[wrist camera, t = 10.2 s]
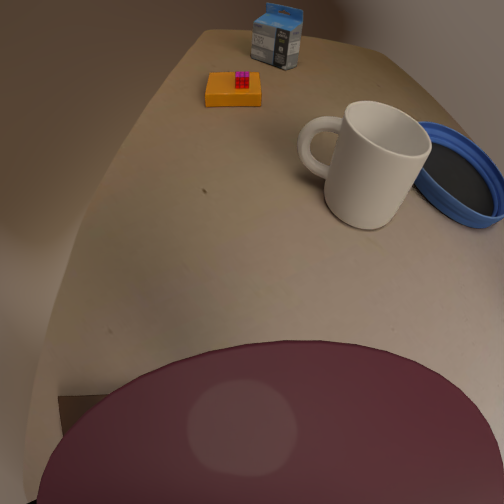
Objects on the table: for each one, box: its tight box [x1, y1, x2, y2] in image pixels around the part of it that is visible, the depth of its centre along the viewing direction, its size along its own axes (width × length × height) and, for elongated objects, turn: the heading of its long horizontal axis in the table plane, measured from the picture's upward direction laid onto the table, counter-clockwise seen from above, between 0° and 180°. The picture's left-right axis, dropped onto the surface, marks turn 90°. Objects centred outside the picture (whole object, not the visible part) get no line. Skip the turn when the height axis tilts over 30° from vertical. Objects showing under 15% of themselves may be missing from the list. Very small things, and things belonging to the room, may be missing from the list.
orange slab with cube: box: [205, 72, 262, 107], centre depth 40 cm, size 8×8×4 cm
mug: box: [297, 101, 432, 229], centre depth 27 cm, size 12×8×10 cm
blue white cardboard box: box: [251, 3, 303, 70], centre depth 44 cm, size 9×4×12 cm, turn 47°
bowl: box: [414, 122, 504, 228], centre depth 33 cm, size 18×18×4 cm
